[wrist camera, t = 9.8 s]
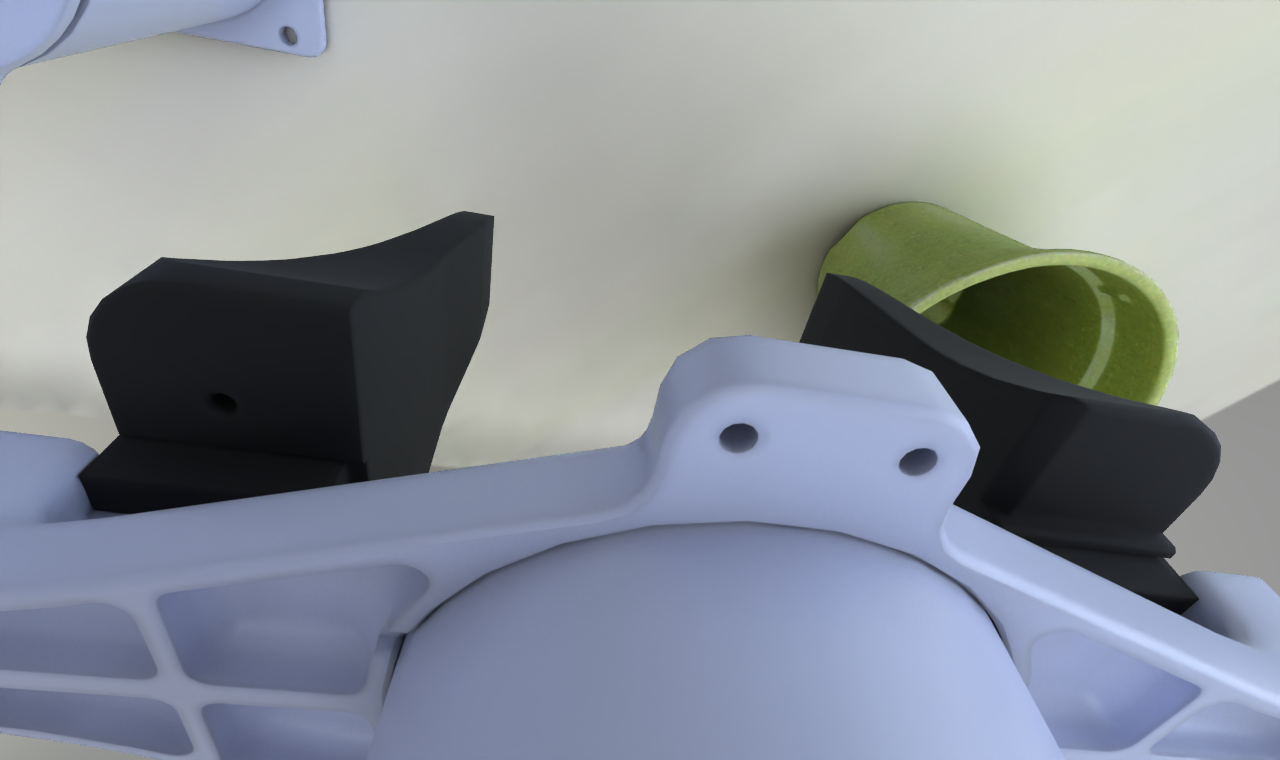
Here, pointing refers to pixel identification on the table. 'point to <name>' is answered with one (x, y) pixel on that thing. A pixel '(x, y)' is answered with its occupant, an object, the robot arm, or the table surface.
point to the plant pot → (1019, 297)
